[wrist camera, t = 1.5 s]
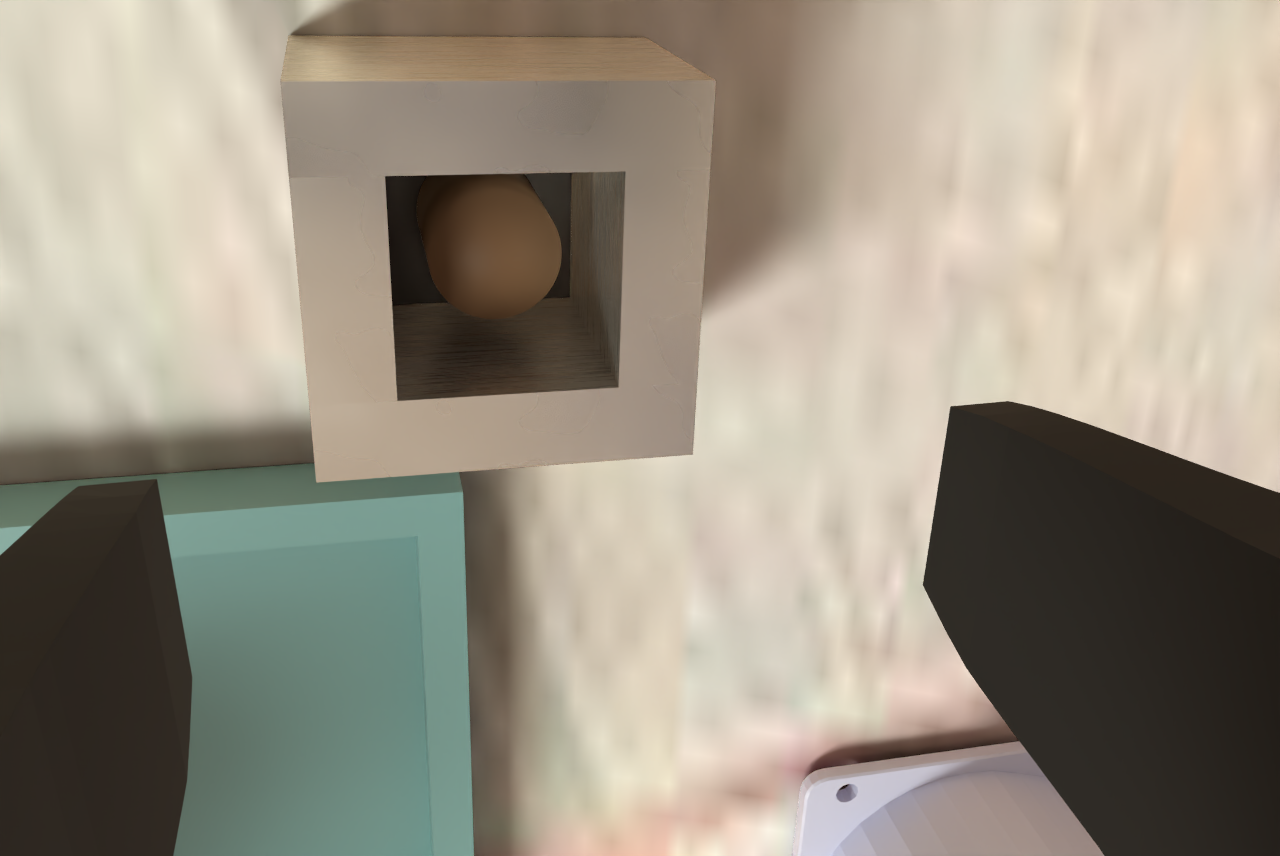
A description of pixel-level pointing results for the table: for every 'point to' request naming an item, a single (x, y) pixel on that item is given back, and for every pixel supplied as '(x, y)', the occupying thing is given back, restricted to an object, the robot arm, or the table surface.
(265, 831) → the tray
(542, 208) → the brown rounded shape
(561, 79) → the hollow square block
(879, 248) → the table surface
